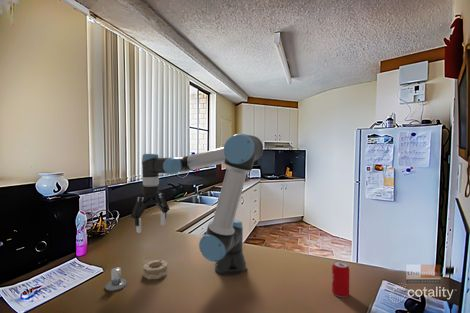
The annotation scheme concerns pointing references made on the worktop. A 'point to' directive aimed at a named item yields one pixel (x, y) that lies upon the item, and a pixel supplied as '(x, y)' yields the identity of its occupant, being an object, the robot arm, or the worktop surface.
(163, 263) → the ring
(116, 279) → the post
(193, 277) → the worktop surface
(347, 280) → the beverage can
